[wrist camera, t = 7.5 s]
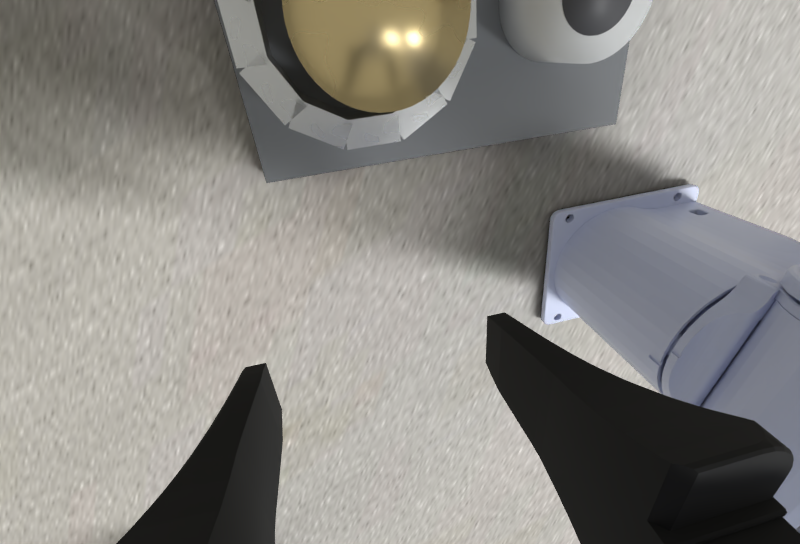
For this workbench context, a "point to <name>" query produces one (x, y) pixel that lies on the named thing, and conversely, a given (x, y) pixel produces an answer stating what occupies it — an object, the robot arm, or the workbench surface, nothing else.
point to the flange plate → (474, 84)
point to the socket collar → (313, 115)
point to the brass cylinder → (378, 47)
